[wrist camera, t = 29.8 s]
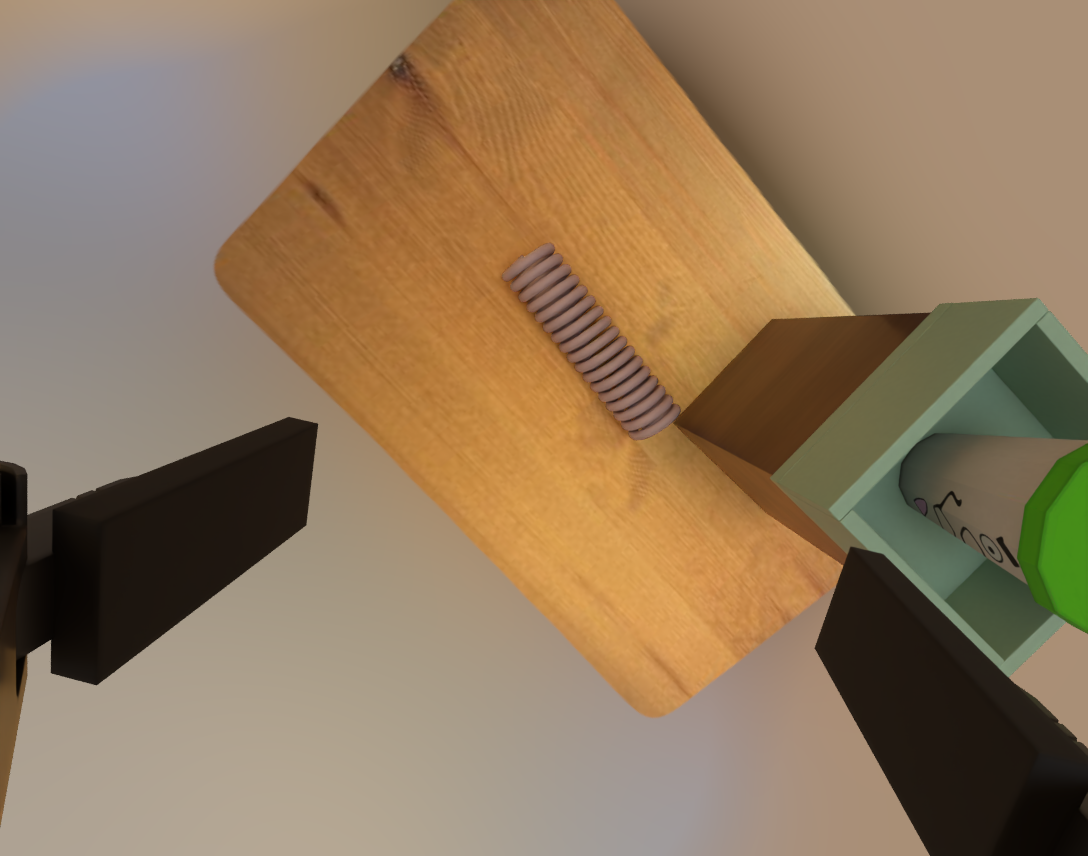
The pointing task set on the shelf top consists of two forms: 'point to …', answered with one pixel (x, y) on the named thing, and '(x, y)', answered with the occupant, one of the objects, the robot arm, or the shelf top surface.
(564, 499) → the shelf top surface
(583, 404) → the shelf top surface
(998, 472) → the cup
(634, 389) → the coil
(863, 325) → the stand
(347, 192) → the shelf top surface
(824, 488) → the bin
